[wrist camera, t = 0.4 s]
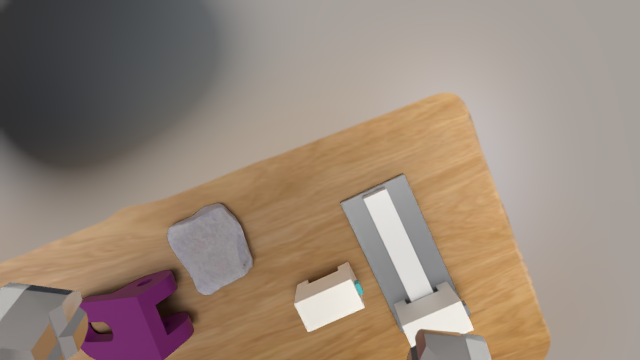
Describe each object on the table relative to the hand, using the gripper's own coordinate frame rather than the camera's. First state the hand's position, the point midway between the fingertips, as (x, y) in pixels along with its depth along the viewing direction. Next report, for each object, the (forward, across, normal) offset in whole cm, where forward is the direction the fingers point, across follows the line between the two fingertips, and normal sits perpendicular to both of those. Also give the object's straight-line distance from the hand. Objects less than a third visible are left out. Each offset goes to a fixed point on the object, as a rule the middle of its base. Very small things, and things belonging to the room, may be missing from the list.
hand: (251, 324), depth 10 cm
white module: (+37, +7, -40) cm, 55 cm away
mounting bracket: (+35, -22, -48) cm, 64 cm away
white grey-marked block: (+35, +21, -40) cm, 58 cm away
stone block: (+40, -11, -37) cm, 55 cm away
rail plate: (+40, +17, -34) cm, 55 cm away
